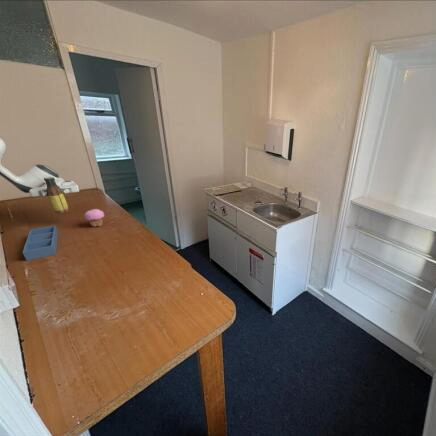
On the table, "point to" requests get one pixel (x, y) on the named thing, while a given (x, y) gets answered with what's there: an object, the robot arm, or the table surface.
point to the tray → (41, 243)
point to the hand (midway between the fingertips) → (55, 193)
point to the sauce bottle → (56, 196)
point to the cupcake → (94, 217)
